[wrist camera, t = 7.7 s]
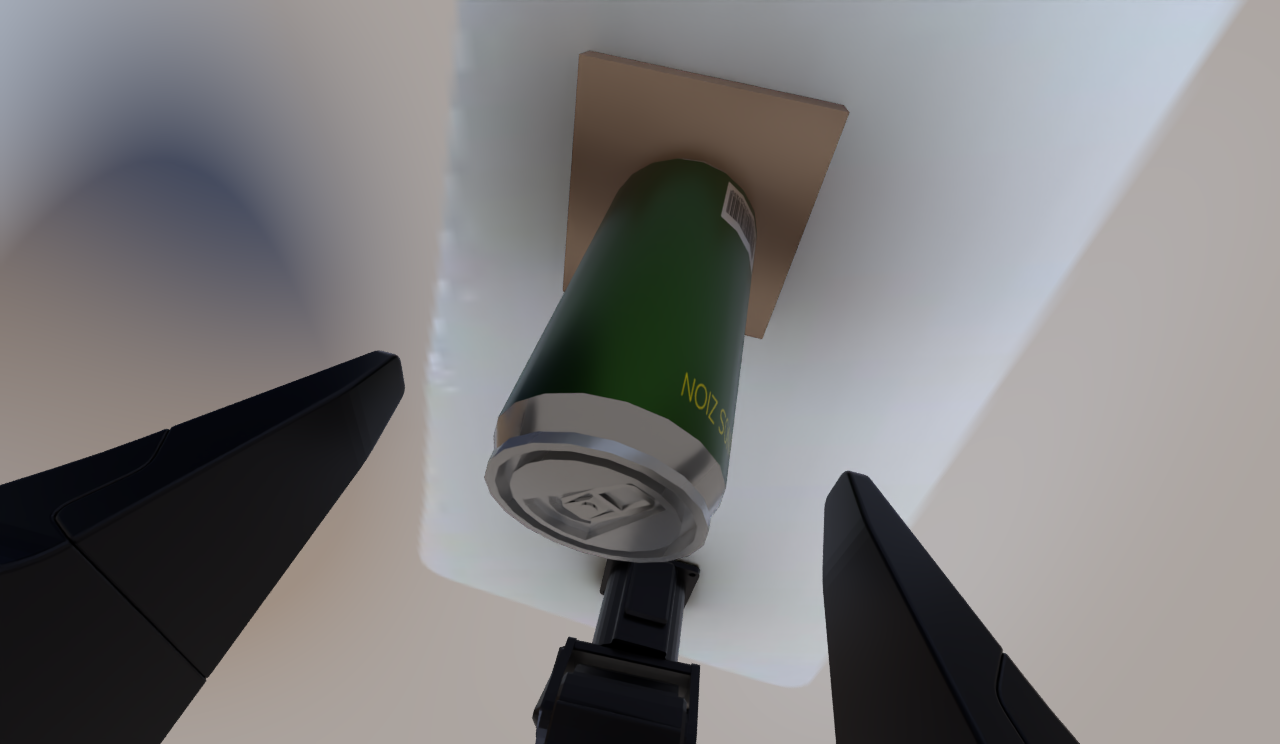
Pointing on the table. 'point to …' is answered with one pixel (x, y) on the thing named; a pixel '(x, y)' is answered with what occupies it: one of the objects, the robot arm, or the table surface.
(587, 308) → the beer can
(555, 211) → the table surface
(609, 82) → the brown square coaster
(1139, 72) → the table surface
